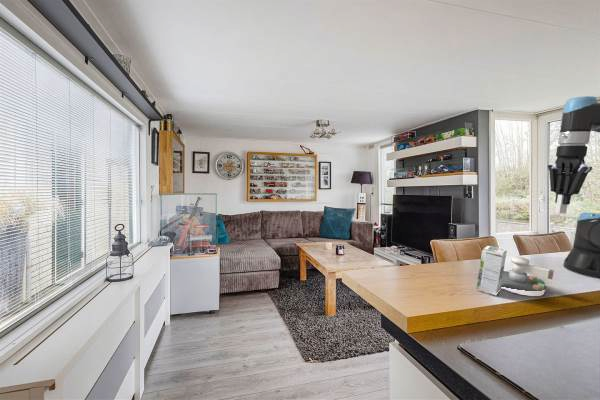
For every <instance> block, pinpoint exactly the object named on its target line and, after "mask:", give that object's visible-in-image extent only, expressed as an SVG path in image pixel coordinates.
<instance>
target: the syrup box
mask: <svg viewBox="0 0 600 400" xmlns="http://www.w3.org/2000/svg"><path fill="white" fill-rule="evenodd" d="M480 257H481V258H480V264H479V268H478V269H479V270H478V275H477V282H476V289H479V290H484V291H489V292H495V293H497V292H498V291H499V290H500V291H501V290H502V289H501V283H502V277H503V271H505V263H506V259H507V249H504V248H501V247H497V246H493V245H487V246H485V247H484V248H483V249H482V251H481V256H480ZM476 289H475V290H476Z"/></svg>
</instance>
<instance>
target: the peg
mask: <svg viewBox="0 0 600 400" xmlns="http://www.w3.org/2000/svg"><path fill="white" fill-rule="evenodd" d="M510 262H511V263H512V269H511V270H512V271H514V272H516V273H521V274H524V273H527V274H529V275H532V276H536V277H541V278H545V279H547V280H553V277H554V272H555V270H553V269H549V268H543V267H539V266H535V265H532V264H530V260H529V259H528V258H525V257H522V256H512V257H511V260H510Z"/></svg>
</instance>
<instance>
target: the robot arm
mask: <svg viewBox="0 0 600 400" xmlns="http://www.w3.org/2000/svg"><path fill="white" fill-rule="evenodd" d="M561 114H562V117H561V122H560V123H561V124H560V130H559V136H558V142H557V144H558V146H557V148H556V151H555V156H556V157H557V158H556V160H555V162H554V163H552V164H548V165H547V169H548V171H549V183H550V184H549V185H550V191H551V192H554V193H555V200H554V202H555V203H556V204H555V205H556V206H555V209H554V210H555V211H554V213H556V214H567V210H568V205H570V203H571V200H572V199H571V198H572V196H574V195H578V194H579V193H580V191H581V189H582V187H583V185H584V183H585V181H586V178H587V176H588V174H589V173H590V172H591V171H592V170H593V167H592V166H588V165H587V164H586V162H585V158H586V157H587V152H588V149H589V148H588V144H589V143H590V137H591V132H595V133H600V103H599V102H598V99H597V97H596V96H590V95H589V96H588V95H587V96H577V97H572V98H569V99H567V100H566V101H565V103H564V106H563V110H562V113H561ZM563 267H564V268H565V269H567V270H569V271H571V272H573V273H576V274H579V275H583V276H586V277H590V278H595V277H596V278H595V279H600V213H597V212H596V213H593V212H582V213H581V212H580V214H579V215H578V219H577V221H576V227H575V233H574V240H573V244H572V249H571V251H570V252H569V253H568V255H567V256H566V257H565V259H564V260H563Z"/></svg>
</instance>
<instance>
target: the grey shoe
mask: <svg viewBox="0 0 600 400" xmlns="http://www.w3.org/2000/svg"><path fill="white" fill-rule="evenodd" d="M501 287H506V288H511V289H517V290H525V291H542V290H545V289H546V288H547V287H546V282H545V281H544V280H543V279H541V278H539V276H537V275H528V273H524V274H521V273H516V272H514V271H512V269H510V270H509V271H508V270H507V271H505V270H504V271H503V277H502V283H501ZM546 290H547V289H546ZM546 290H545V291H546Z"/></svg>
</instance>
